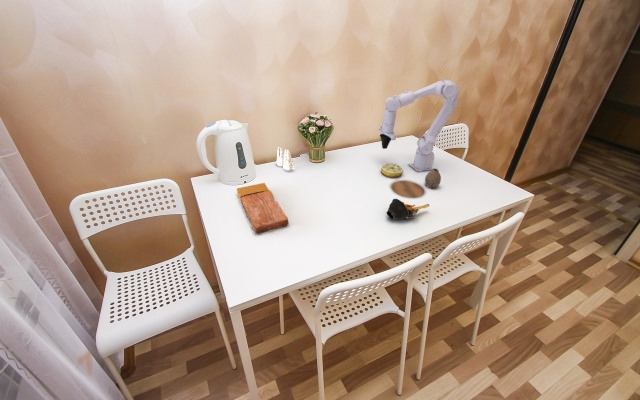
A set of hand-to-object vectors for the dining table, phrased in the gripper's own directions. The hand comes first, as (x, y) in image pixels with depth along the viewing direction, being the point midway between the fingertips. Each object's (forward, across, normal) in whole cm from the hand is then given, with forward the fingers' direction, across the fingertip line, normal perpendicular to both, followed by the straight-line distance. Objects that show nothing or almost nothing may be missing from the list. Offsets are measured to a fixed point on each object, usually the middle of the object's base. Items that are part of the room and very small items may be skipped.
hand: (384, 148), depth 150 cm
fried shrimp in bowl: (+10, +44, -12) cm, 47 cm away
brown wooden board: (+10, +24, -68) cm, 73 cm away
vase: (+10, +26, +12) cm, 31 cm away
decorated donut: (+10, +10, 0) cm, 14 cm away
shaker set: (+10, -8, -51) cm, 53 cm away
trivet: (+10, +26, 0) cm, 28 cm away
